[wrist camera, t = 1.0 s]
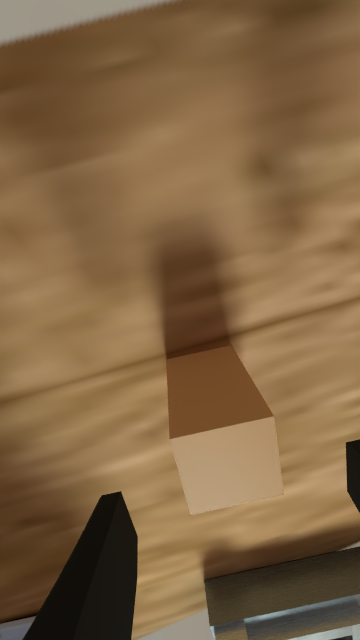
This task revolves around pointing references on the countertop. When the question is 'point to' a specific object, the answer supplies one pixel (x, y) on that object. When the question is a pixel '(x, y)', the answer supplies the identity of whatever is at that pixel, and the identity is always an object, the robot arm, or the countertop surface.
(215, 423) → the tan cardboard-like brick
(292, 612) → the nested square metal frame
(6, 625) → the robot arm
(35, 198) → the countertop surface
